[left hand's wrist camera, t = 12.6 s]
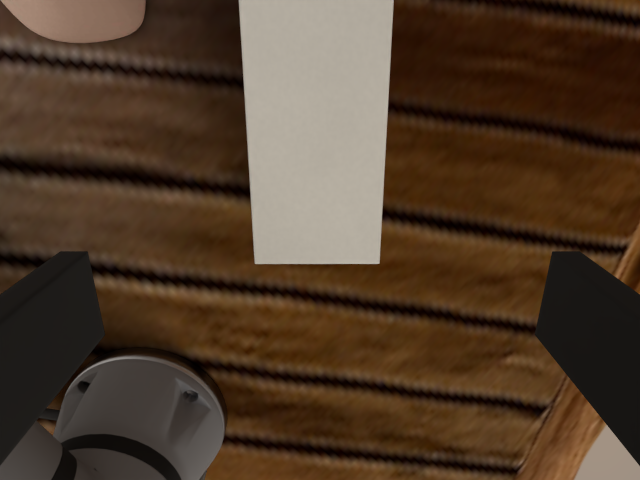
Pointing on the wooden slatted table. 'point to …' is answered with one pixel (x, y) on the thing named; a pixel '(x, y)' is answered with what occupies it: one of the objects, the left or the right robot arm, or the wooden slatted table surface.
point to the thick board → (316, 127)
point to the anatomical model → (79, 18)
